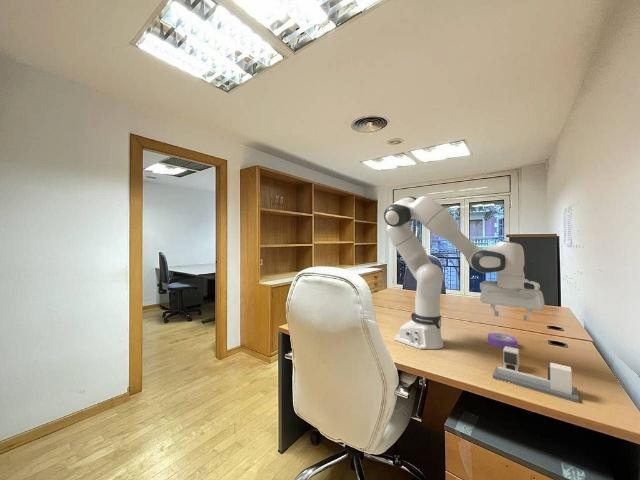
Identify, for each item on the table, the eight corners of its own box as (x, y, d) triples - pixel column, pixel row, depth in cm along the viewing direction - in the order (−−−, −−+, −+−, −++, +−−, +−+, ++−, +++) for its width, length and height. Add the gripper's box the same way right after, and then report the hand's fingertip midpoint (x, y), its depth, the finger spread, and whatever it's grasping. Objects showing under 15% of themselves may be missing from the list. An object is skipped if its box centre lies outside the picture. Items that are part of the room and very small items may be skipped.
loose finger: (505, 363, 105) (505, 346, 105) (518, 367, 102) (518, 348, 102) (503, 368, 101) (503, 350, 101) (517, 372, 98) (517, 353, 98)
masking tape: (522, 350, 118) (522, 342, 118) (494, 348, 120) (494, 340, 120) (509, 341, 130) (509, 333, 130) (483, 339, 132) (483, 332, 132)
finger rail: (492, 378, 93) (492, 355, 94) (496, 369, 100) (496, 348, 100) (579, 403, 79) (578, 376, 79) (577, 390, 86) (576, 366, 86)
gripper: (478, 280, 107) (478, 314, 107) (544, 286, 93) (544, 325, 93) (481, 279, 111) (481, 311, 111) (544, 284, 98) (545, 321, 98)
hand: (510, 317), depth 102 cm, fingers open, 8 cm apart
